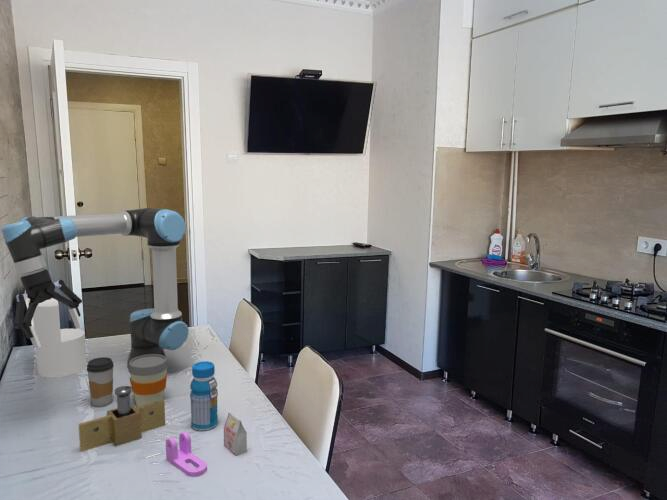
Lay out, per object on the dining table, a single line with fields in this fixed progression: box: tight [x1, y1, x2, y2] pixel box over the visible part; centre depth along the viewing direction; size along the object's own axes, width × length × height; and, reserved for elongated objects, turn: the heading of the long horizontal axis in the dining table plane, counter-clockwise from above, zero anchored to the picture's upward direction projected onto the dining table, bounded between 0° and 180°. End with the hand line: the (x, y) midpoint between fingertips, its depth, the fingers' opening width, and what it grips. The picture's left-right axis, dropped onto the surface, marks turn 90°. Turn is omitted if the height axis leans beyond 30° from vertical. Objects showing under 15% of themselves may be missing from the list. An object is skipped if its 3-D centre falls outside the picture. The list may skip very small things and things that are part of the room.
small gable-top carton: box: [223, 412, 248, 457], centre depth 143 cm, size 4×7×10 cm, turn 40°
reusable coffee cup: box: [128, 354, 168, 407], centre depth 171 cm, size 13×13×15 cm
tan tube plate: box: [78, 399, 166, 452], centre depth 149 cm, size 24×7×8 cm, turn 130°
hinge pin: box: [114, 385, 133, 418], centre depth 149 cm, size 5×5×15 cm
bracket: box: [165, 431, 208, 478], centre depth 135 cm, size 13×6×7 cm, turn 49°
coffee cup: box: [86, 356, 115, 408], centre depth 169 cm, size 8×8×15 cm
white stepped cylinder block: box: [32, 298, 88, 378], centre depth 196 cm, size 17×17×28 cm
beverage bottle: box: [189, 360, 219, 431], centre depth 156 cm, size 8×8×20 cm
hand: (59, 337), depth 153 cm, fingers open, 13 cm apart
